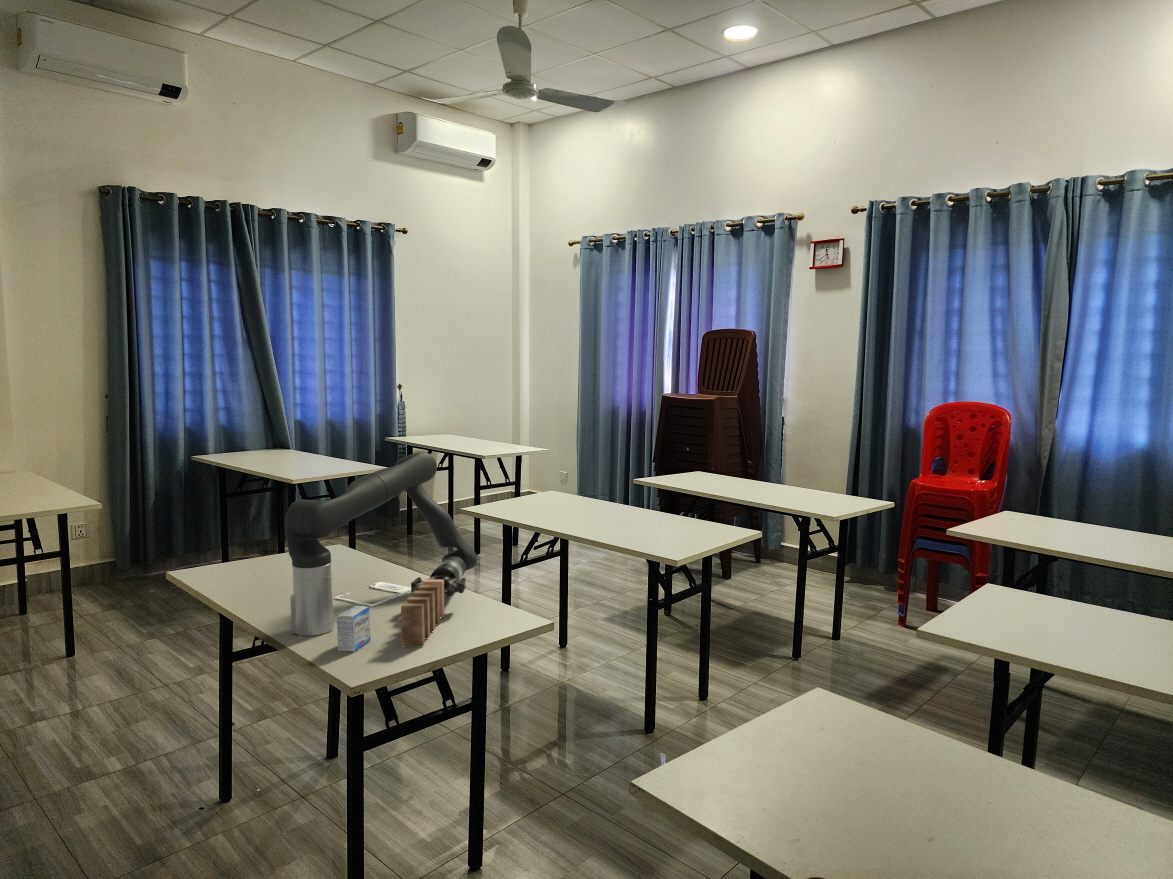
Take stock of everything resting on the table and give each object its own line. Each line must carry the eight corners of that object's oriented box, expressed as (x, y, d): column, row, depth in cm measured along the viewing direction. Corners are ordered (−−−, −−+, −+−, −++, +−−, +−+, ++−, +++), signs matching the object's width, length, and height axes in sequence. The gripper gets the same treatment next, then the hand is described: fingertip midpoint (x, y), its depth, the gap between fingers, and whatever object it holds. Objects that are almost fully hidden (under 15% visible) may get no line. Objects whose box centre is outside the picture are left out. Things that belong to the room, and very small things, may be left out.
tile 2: (419, 624, 193) (418, 587, 192) (421, 622, 195) (420, 584, 194) (438, 625, 193) (437, 587, 192) (440, 622, 194) (439, 585, 194)
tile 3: (413, 631, 188) (412, 593, 187) (415, 629, 190) (414, 590, 189) (433, 632, 188) (432, 593, 187) (435, 629, 190) (434, 591, 189)
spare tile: (424, 618, 198) (423, 581, 197) (426, 615, 200) (425, 579, 199) (442, 618, 198) (441, 581, 197) (444, 616, 200) (443, 579, 199)
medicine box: (354, 652, 174) (353, 616, 173) (337, 651, 175) (336, 615, 174) (371, 640, 182) (370, 606, 181) (354, 639, 183) (353, 605, 182)
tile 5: (402, 646, 178) (400, 605, 177) (404, 643, 180) (403, 603, 179) (422, 647, 178) (421, 606, 177) (424, 643, 180) (424, 603, 179)
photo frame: (416, 587, 223) (371, 604, 207) (416, 591, 223) (371, 608, 207) (380, 580, 230) (334, 596, 214) (380, 584, 230) (334, 600, 214)
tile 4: (408, 639, 183) (407, 599, 182) (410, 636, 185) (409, 596, 184) (428, 639, 183) (427, 599, 182) (430, 636, 185) (429, 597, 184)
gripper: (421, 562, 212) (405, 579, 196) (471, 563, 212) (458, 579, 196) (422, 588, 213) (406, 607, 197) (471, 589, 212) (459, 607, 196)
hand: (432, 593), depth 196 cm, fingers open, 8 cm apart
